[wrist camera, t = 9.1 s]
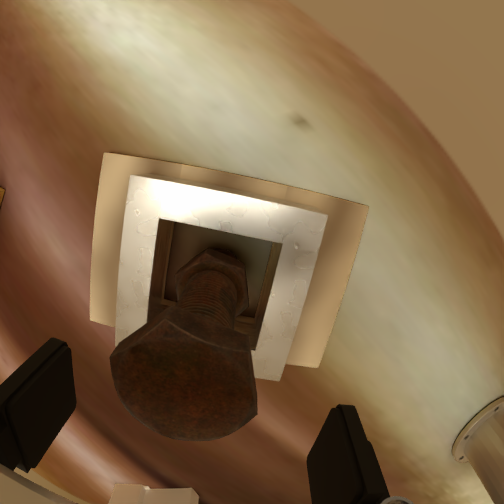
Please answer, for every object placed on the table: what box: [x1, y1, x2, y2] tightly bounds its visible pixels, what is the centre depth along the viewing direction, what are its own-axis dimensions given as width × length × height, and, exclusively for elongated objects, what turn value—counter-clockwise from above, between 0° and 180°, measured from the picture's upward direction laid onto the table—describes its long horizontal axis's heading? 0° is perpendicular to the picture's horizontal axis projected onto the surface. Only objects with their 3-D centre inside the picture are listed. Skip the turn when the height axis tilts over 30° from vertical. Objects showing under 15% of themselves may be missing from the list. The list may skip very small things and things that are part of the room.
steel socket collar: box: [115, 173, 328, 381], centre depth 22 cm, size 12×12×4 cm
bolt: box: [110, 249, 257, 441], centre depth 18 cm, size 6×5×15 cm
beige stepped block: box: [108, 484, 199, 504], centre depth 31 cm, size 15×11×6 cm
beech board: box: [90, 152, 369, 368], centre depth 24 cm, size 20×14×1 cm
